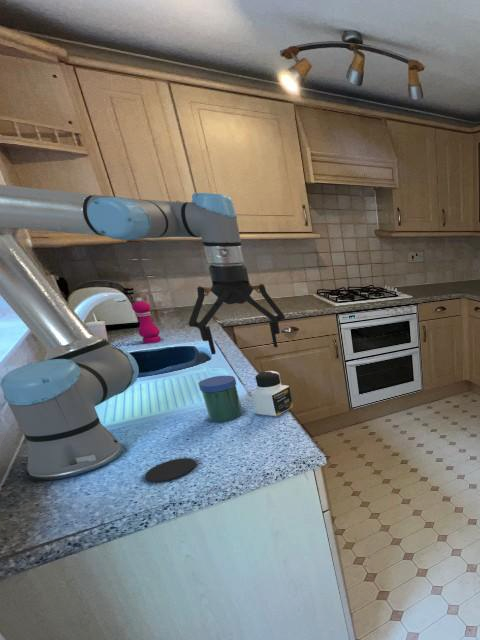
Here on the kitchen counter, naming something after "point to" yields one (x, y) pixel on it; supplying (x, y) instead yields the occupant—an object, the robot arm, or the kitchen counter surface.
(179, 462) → the rubber mat
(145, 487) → the kitchen counter surface
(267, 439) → the kitchen counter surface
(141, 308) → the pepper mill
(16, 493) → the kitchen counter surface
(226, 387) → the jam lid
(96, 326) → the smoothie
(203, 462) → the kitchen counter surface
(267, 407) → the medicine bottle
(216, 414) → the jam jar
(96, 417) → the robot arm
